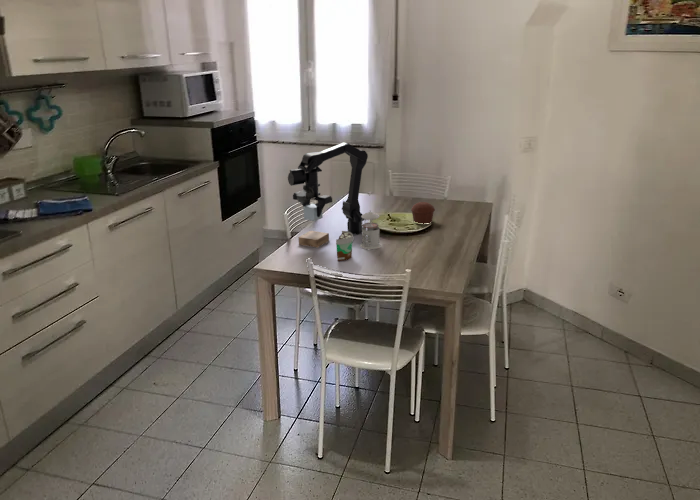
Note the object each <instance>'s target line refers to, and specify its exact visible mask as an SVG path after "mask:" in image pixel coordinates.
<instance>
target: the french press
mask: <svg viewBox="0 0 700 500" xmlns="http://www.w3.org/2000/svg"><path fill="white" fill-rule="evenodd" d="M372 194H373V191H368V192H367V195H372ZM362 214H363V215H362V216H361V217H362V220H363V219H364V221H369V222H364V223H362V232H361V235H362V236H361V237H362V240H361V241H362V242H361V243H360V245H359V247H360V248H361V249H364V250H377V249H380V248H381V247H382V246H383V244H382V243H380V241H381V240H380V227H379V224H378V223H377V222H372V221H373V220H376V219H377V220H378V219H379V218H380V215H379V214H378V213H376V212H371V211H368V212H365V213H362Z"/></svg>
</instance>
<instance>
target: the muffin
mask: <svg viewBox="0 0 700 500" xmlns="http://www.w3.org/2000/svg"><path fill="white" fill-rule="evenodd" d="M410 209H411V210H410V211H411V213H412V219H413V220H412V221H413V222H414V221H415V222H418V223H423V224H424V223H430V222H431V223H432V222H433V219H434V218H433V217H434V214H435V211H436V209H435V206H433V204H432V203H429V202H427V201H420V202H417V203H415V204H413V205H412V208H410Z"/></svg>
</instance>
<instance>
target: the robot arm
mask: <svg viewBox="0 0 700 500" xmlns="http://www.w3.org/2000/svg"><path fill="white" fill-rule="evenodd" d="M343 154H346V155H348V156H349V163H350V166H351V171H350V180H349V187H348V192H347V194H348V195H347V199H345V200H344V201H342V207H341V210H342V214H343V215H344V216H345V218H346V219H347V223H346V224H347V226H346V227H347V231H348V232H350V233H352V235H353V234H354V235H359V234H362V227H363V226H362V225H363V221H364V222H365V220H364V219H363V220H362V217H361V216H362V215H363V214H364V213H362V212H361V206H360V201H359V195H360V189H361V181H362V180H361V179H362V174H363V169H364V167H365V166H366V164H367V160H368V159H369V157H368V156H369V154H368V152H367V151H366V150H363V149H359V148H357V147H355V146H353V145H351V144H350V143H348V142H341V143H340V144H337V145H334V146H332V147H329V148H325V149H324V150H321V151H316V152H315V151H314V152H308V153H305V154H303V156H302V158H301V161H300V163H299V164H298V167H297V168H295V169H289V172H288V175H287V182H288V184H289V186H293V187H294V186H297V185H298V186H299V185H302V190H300V191H296V192H294V193H293V194H292V200H294V201H295V200H296V201H297V202H298V203H300V204H301V205H302V207H303V206H306V205H309V204H311V201H317V202H316V203H314V204H315V205H316V206H317V216H318V217H320V215H321V212H322V213H323V210H324V208H325V206H326V205H327V204H328V205H329V204H330V203H333V197H332V196H331V195H328V194H324V195H321V192H319V187H320V186H321V183H319V176H318V174H319V172H322V171H323V169H322V168H320V167H319V166H321V165H322V164H324V162H325V161H327V160H330V159H332V158H335V157H337V156H340V155H343Z"/></svg>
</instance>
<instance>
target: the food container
mask: <svg viewBox="0 0 700 500" xmlns="http://www.w3.org/2000/svg"><path fill="white" fill-rule="evenodd" d="M354 240H355V238H354V235H353V234H352V233H350V232H348V230H341V234H340V235H339V237H338V238H337V239H335V245H336V257H337V262H346V261H348V260H351V259H352V256H353V255H352V254H353V241H354Z"/></svg>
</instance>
